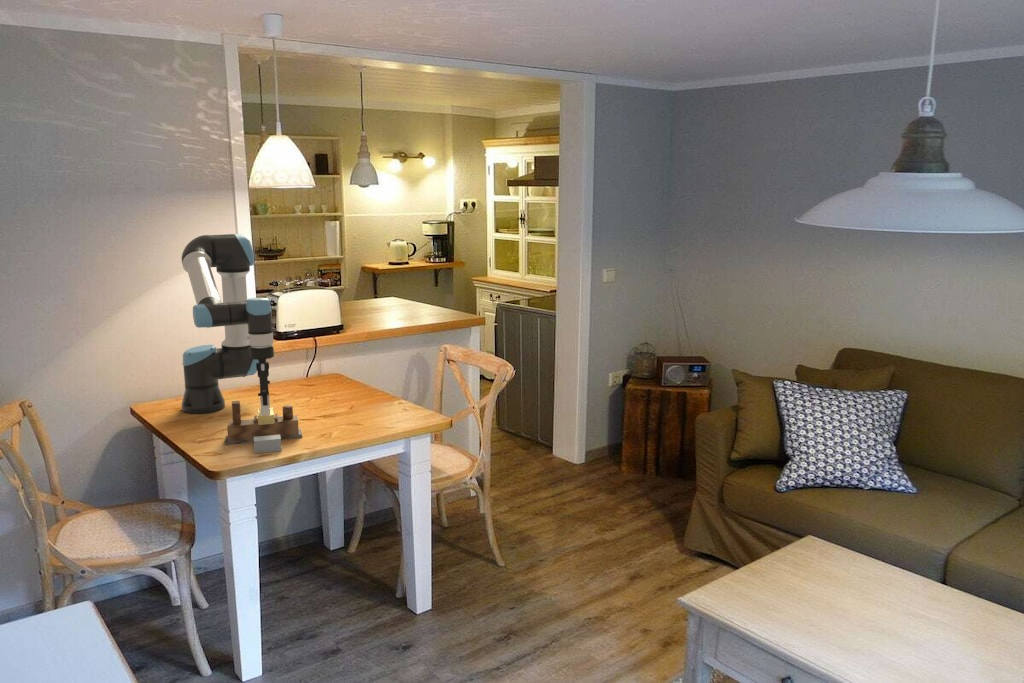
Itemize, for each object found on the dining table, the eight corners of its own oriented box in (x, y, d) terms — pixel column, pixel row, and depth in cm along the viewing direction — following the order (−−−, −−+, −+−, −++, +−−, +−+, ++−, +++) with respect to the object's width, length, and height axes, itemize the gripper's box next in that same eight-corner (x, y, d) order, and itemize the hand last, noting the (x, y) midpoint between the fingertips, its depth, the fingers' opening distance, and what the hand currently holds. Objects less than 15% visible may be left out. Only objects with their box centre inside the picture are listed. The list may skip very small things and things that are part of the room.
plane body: (225, 444, 246) (222, 406, 243) (225, 438, 252) (222, 400, 249) (302, 437, 253) (300, 399, 251) (300, 431, 259) (298, 394, 256)
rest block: (254, 449, 242) (253, 437, 241) (280, 446, 244) (280, 434, 244) (254, 453, 238) (253, 441, 237) (281, 450, 240) (280, 438, 240)
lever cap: (258, 425, 247) (257, 414, 246) (258, 417, 255) (257, 406, 254) (274, 423, 248) (273, 413, 247) (273, 415, 256) (273, 405, 256)
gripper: (249, 339, 257) (253, 400, 261) (248, 353, 234) (253, 420, 238) (272, 338, 259) (276, 398, 263) (274, 352, 236) (278, 418, 240)
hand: (265, 409), depth 250 cm, fingers open, 13 cm apart
